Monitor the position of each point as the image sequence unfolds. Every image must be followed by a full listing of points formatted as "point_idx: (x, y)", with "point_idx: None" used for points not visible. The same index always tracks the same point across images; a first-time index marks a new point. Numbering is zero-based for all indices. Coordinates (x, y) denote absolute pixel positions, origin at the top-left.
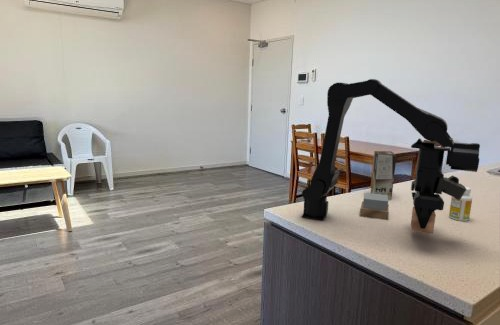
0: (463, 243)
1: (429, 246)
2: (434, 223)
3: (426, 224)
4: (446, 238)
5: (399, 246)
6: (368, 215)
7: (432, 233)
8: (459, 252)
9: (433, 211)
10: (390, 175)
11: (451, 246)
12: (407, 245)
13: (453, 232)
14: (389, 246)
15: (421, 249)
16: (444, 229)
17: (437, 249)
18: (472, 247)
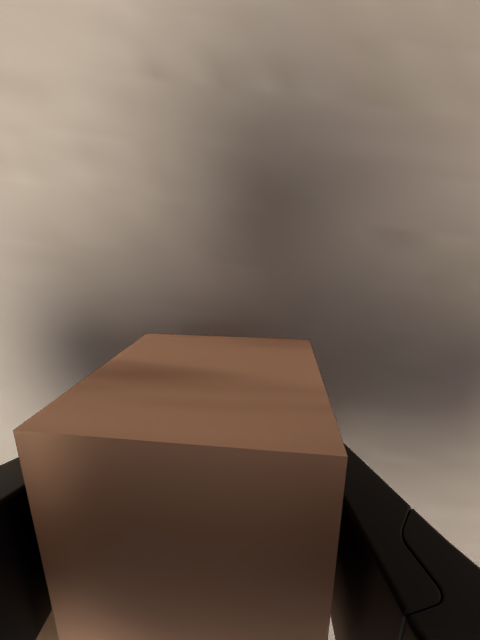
0: (231, 88)
1: (387, 344)
2: (322, 382)
3: (350, 451)
4: (182, 211)
5: (446, 506)
6: (52, 610)
7: (308, 344)
8: (439, 147)
9: (149, 455)
10: None
11: (333, 194)
12: (415, 465)
13: (27, 141)
14: (463, 551)
15: (458, 397)
16: (2, 203)
17: (427, 299)
18: (292, 19)
